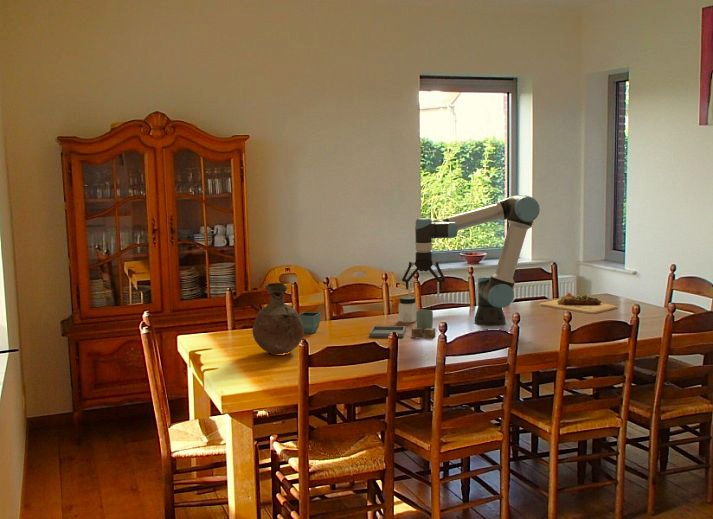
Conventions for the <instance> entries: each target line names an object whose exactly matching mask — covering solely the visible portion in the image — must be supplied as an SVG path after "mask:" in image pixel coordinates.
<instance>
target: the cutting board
mask: <svg viewBox="0 0 713 519" xmlns="http://www.w3.org/2000/svg"><path fill="white" fill-rule="evenodd" d="M539 306H541V307H546V308H552V309H557V310H564V311H570V312H576V313H583V314H589V315H590V314H591V315H595V314H599V313H604V312H607V311H612V310H613V311H614V310H617V309H618V306H616V305H614V304H609V303H603V302H602V300H601V299H598V298H597V297H592V296H591V297H590V296H588V295H587V294H582V295H579V294H578V295H576V296H574V295H573V294H571V293H570V292H567V294H565V295H564V296H561V298H558V299H553V300H549V301H545V302H544V301H543V302H540V303H539Z"/></svg>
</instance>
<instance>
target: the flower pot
mask: <svg viewBox="0 0 713 519" xmlns="http://www.w3.org/2000/svg"><path fill="white" fill-rule="evenodd" d="M298 315H299V316H300V318H301V320H302V323H303V334H314V333H316V332H317V331H318V329H319V326H320V323H321V312H314V311H313V312H310V311H309V312H308V311H304V312H301V313H298Z"/></svg>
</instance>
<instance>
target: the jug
mask: <svg viewBox="0 0 713 519" xmlns="http://www.w3.org/2000/svg"><path fill="white" fill-rule="evenodd" d="M264 287H265V290H266V292H267V293H268V294H269V295H270V303H269V304H267V305H266V306H264V307H263V308H261V309H260V310H259V311H258V313H257V315H256V317H255V320H254V322H253V326H252V331H251V332H252V336H253V339H254V341H255V343H256V344H257V345H258V346H259V347H260V348H261V349H262V350H263V351H265V352H267V353H268V352H269V353H272V354H271V355H273V354H283V353H288V352H290V353H291V352H292V351H293V350H294V349H296V348H297V347H298V346H299V345H300V343H301V342H302V340H303V336H304V333H303V323H302V320H301V318H300V316H299V313H298V311H297V310H296V309H295V308H294V307H293V306H290V305H288V304H287V303H285V301H284V294H286V291H287V290H288V286H286V285H285V284H284V283H282V282H272V283H271V282H269V283H267V284H265V285H264ZM299 342H300V343H299ZM298 344H299V345H298ZM269 353H268V354H269Z"/></svg>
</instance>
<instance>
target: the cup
mask: <svg viewBox="0 0 713 519" xmlns="http://www.w3.org/2000/svg"><path fill="white" fill-rule="evenodd" d="M415 322H416V327H420V328H422V334H424V329H426V328H433V325H434V324H433V322H434V312H433V309H432V310H431V309H416V321H415Z"/></svg>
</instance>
